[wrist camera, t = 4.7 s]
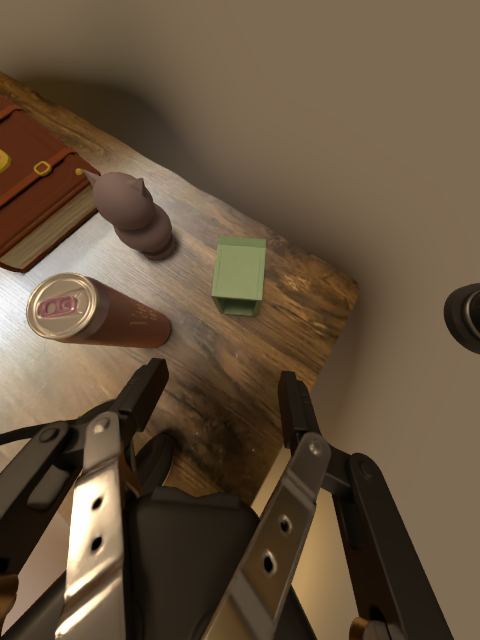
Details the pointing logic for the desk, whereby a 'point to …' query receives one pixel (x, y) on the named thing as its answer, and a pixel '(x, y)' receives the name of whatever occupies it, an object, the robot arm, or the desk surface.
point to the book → (37, 189)
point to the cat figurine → (133, 213)
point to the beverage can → (93, 314)
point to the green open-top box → (239, 275)
